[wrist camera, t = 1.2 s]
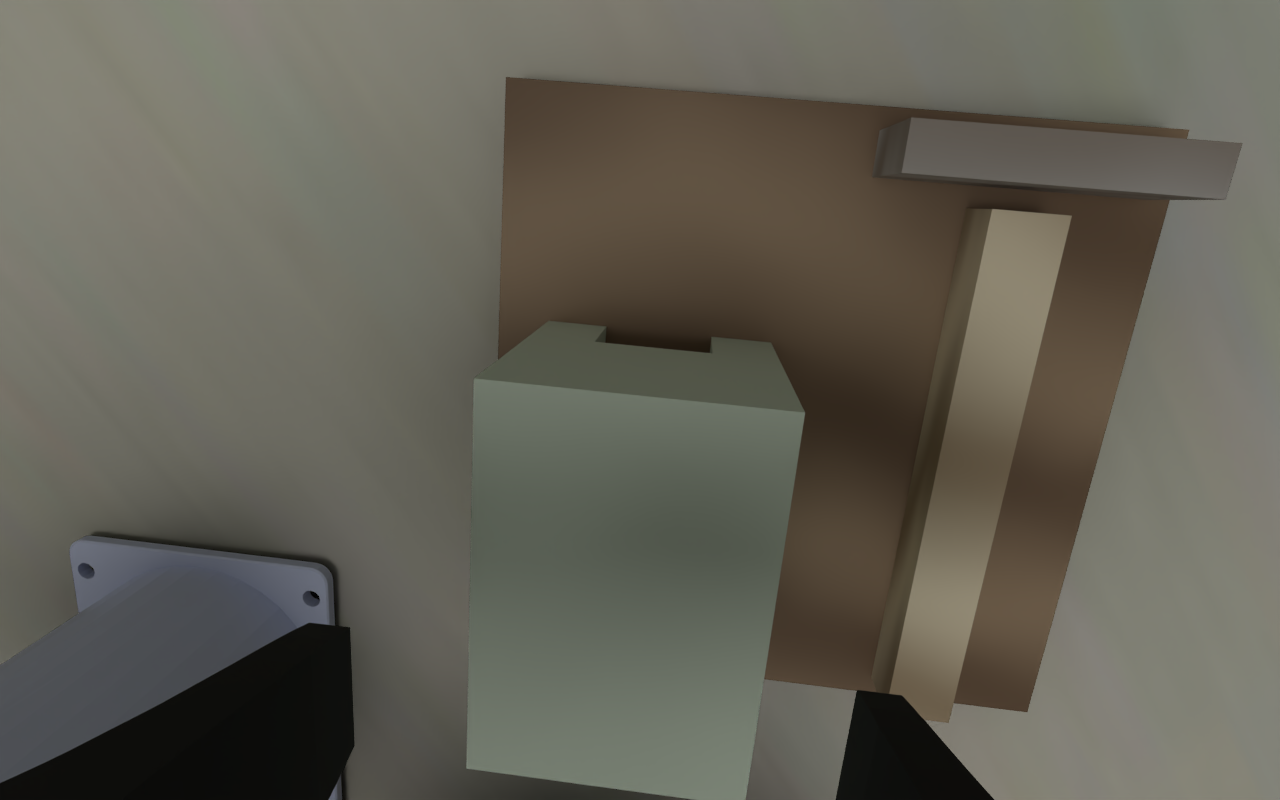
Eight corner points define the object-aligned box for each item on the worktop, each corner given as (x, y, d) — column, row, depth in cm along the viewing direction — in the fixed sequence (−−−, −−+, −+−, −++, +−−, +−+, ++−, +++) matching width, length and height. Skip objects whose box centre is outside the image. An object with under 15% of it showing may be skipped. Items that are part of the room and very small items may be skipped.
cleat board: (1011, 688, 20) (1072, 783, 17) (499, 624, 21) (461, 704, 18) (1160, 134, 16) (1280, 116, 13) (516, 84, 17) (472, 55, 14)
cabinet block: (732, 627, 19) (744, 806, 14) (535, 603, 20) (466, 768, 14) (770, 342, 17) (804, 412, 12) (548, 321, 18) (473, 378, 12)
